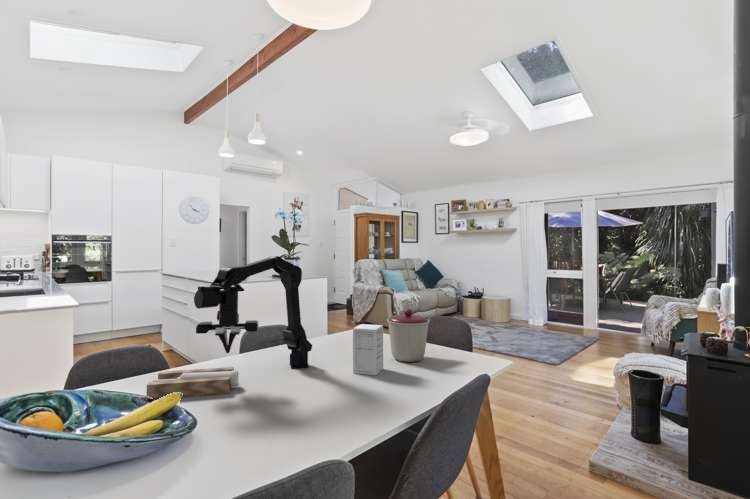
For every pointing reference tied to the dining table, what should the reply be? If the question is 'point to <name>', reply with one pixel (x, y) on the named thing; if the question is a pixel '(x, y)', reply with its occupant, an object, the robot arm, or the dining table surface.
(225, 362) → the dining table surface
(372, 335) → the supplement box
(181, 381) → the u rest
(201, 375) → the bottle
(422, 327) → the canister
